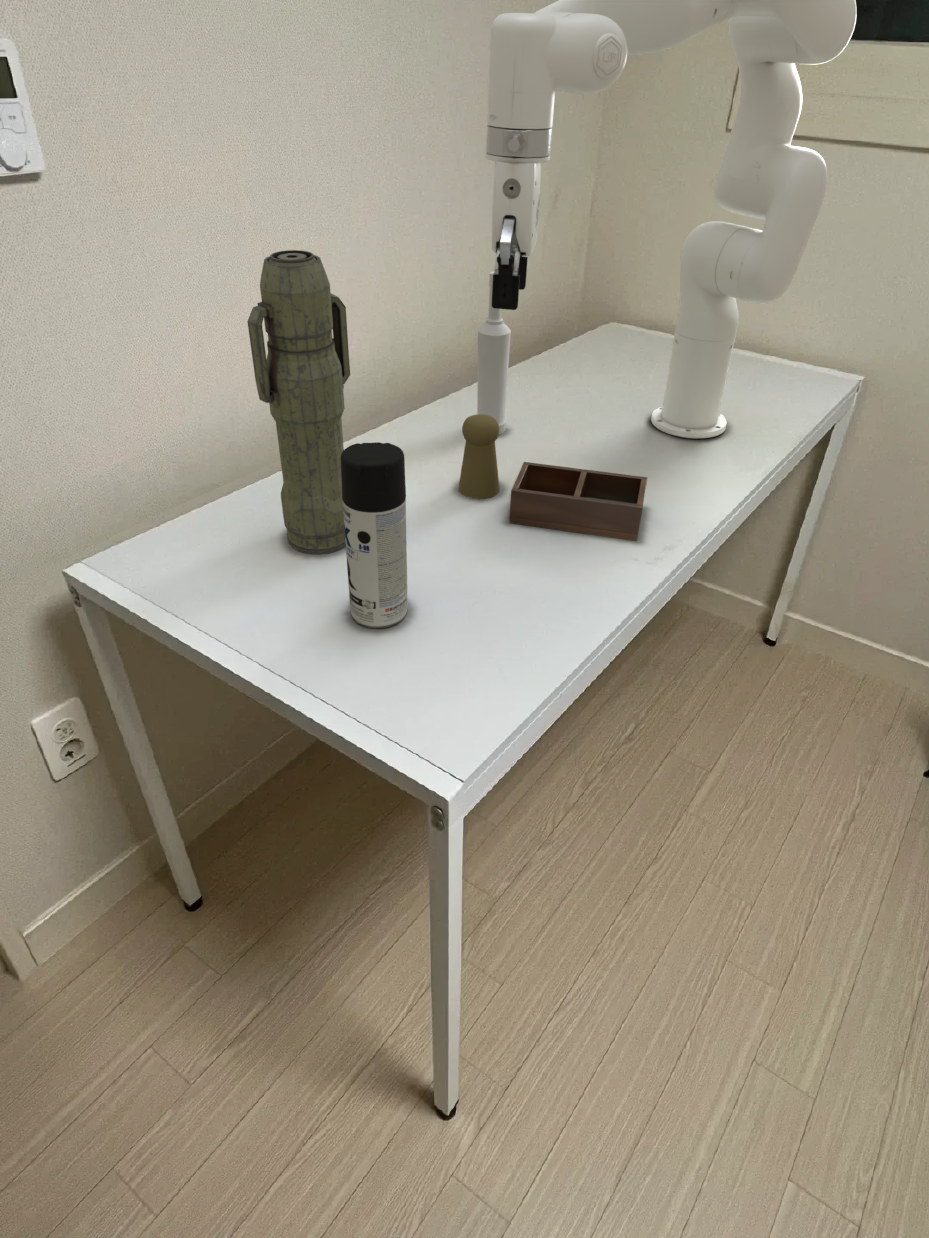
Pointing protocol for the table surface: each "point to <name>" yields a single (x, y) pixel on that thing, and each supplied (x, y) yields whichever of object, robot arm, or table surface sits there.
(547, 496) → the caddy
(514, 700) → the table surface
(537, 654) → the table surface
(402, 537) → the spray can
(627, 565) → the table surface
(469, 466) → the cork
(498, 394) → the bottle
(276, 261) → the thermos
